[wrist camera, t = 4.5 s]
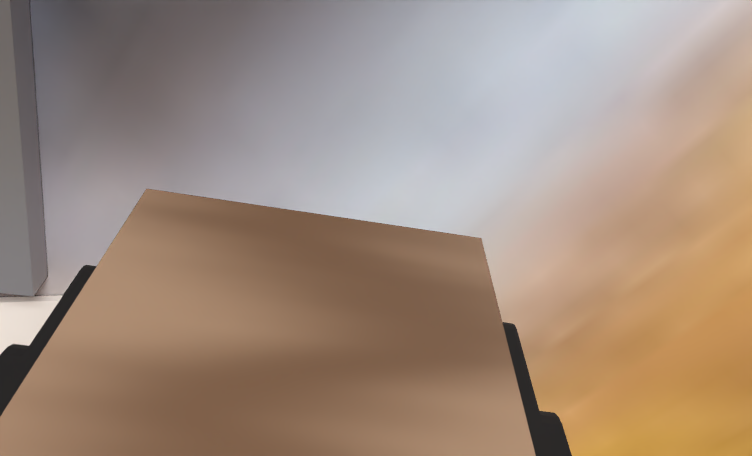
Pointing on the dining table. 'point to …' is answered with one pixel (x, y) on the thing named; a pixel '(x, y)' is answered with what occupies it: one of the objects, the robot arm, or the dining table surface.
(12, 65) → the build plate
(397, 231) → the walnut brick
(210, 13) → the dining table surface
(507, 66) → the dining table surface
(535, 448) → the robot arm
